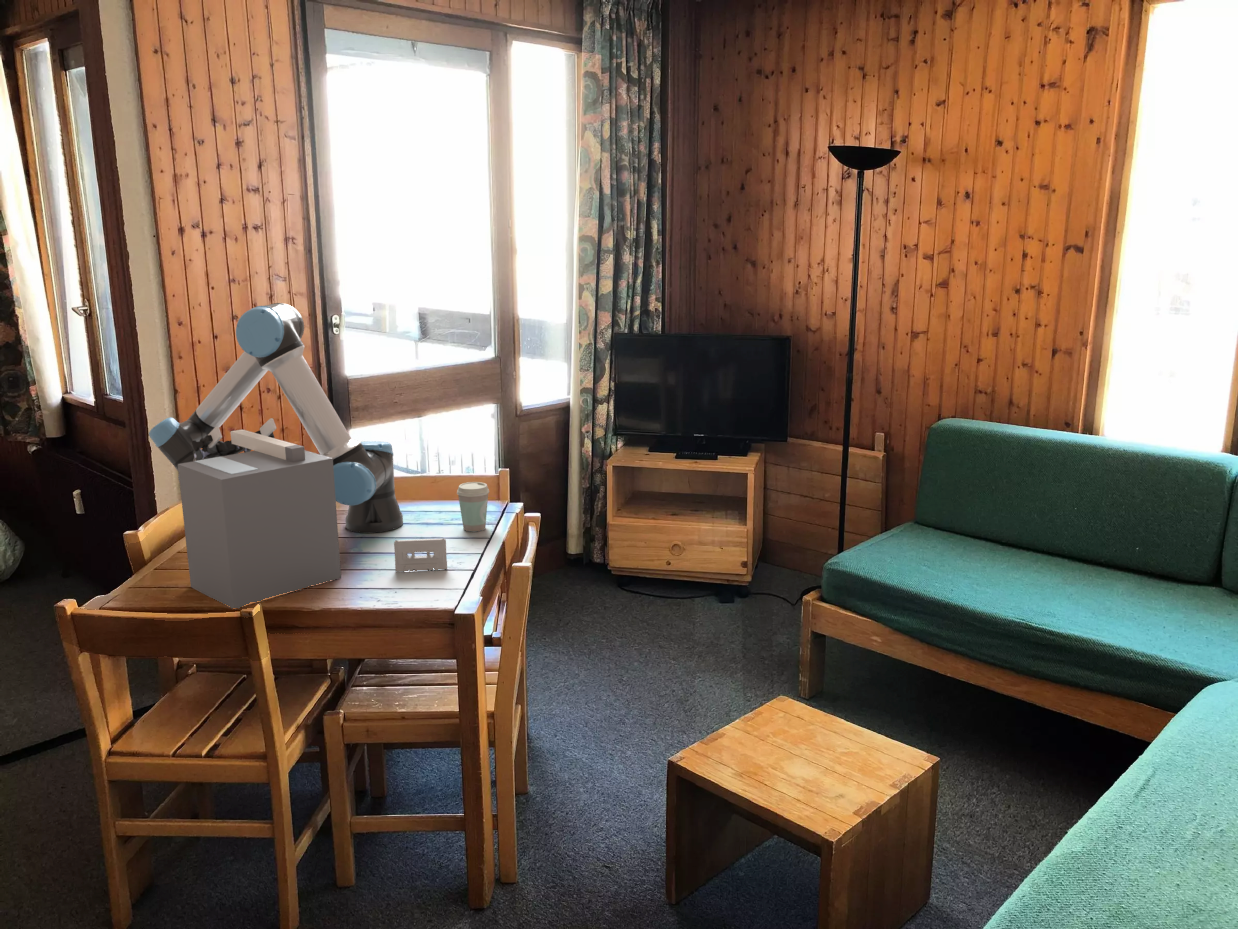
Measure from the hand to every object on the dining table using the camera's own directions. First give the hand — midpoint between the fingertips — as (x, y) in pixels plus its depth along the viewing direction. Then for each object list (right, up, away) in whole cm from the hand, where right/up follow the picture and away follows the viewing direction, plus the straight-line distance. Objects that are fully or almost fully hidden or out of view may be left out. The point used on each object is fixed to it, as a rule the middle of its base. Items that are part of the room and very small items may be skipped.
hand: (246, 427), depth 235 cm
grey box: (+7, -36, -7) cm, 37 cm away
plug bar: (+6, -6, -4) cm, 10 cm away
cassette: (+41, -34, +1) cm, 53 cm away
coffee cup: (+49, -26, +33) cm, 64 cm away
